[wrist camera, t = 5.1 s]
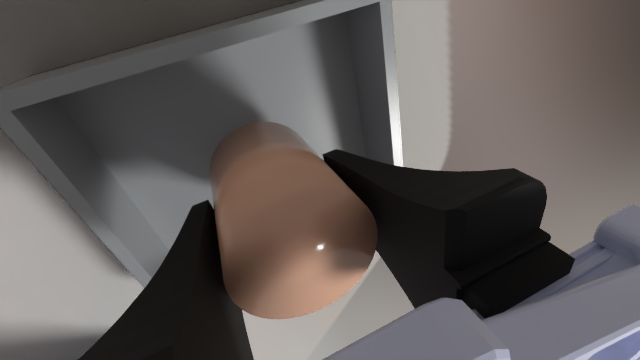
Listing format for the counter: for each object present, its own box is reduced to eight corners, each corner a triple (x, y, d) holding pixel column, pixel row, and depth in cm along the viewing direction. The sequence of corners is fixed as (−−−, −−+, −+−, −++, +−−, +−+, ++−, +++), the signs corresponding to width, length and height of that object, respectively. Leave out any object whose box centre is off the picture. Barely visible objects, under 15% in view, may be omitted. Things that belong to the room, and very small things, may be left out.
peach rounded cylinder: (234, 229, 14) (258, 341, 9) (189, 145, 12) (190, 237, 7) (321, 191, 15) (385, 275, 10) (296, 106, 13) (365, 162, 8)
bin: (183, 279, 18) (183, 331, 15) (29, 76, 11) (-25, 99, 8) (375, 194, 20) (407, 224, 17) (347, -13, 13) (390, -19, 11)
